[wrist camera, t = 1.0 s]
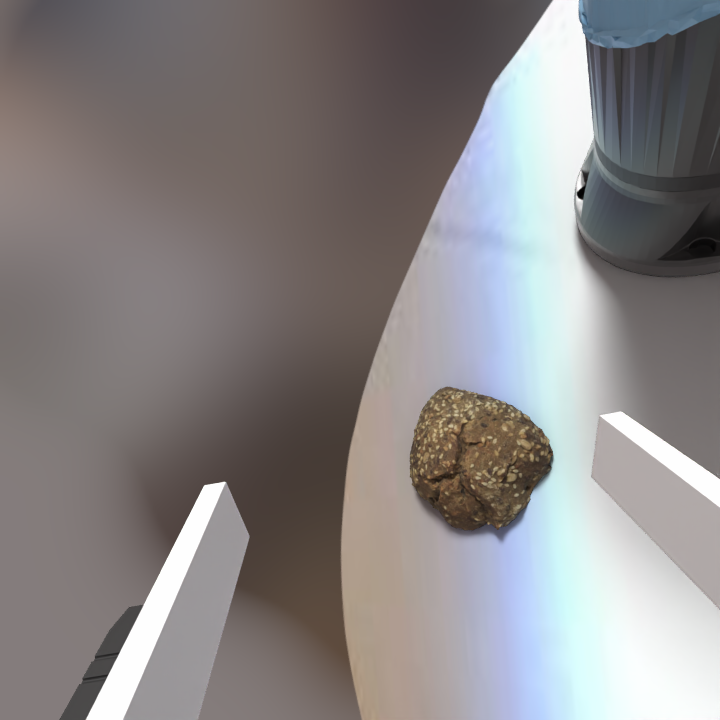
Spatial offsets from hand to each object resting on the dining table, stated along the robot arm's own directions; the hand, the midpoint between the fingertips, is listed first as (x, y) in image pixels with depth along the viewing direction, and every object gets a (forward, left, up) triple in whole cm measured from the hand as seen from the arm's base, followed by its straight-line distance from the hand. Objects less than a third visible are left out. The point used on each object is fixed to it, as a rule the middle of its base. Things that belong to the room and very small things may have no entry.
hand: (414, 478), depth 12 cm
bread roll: (+5, -3, -23) cm, 23 cm away
